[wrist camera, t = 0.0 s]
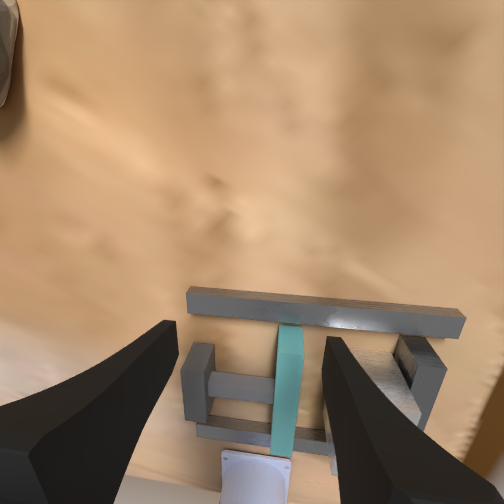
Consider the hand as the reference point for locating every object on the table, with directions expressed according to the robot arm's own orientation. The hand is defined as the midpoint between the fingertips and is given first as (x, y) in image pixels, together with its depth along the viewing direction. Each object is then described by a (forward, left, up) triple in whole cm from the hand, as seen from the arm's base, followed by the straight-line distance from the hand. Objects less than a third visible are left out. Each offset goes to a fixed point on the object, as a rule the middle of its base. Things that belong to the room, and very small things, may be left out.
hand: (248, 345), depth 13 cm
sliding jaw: (-12, +2, -10) cm, 16 cm away
